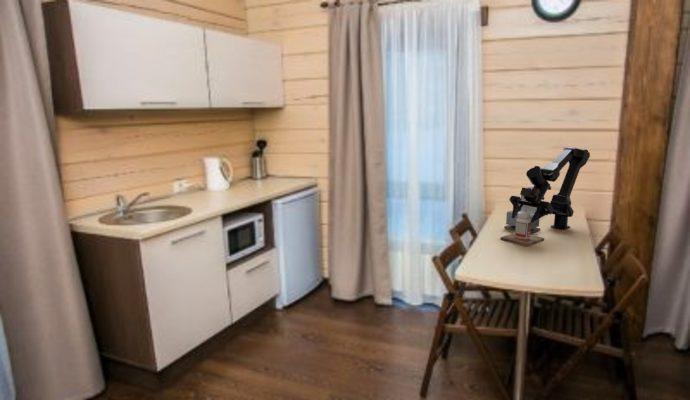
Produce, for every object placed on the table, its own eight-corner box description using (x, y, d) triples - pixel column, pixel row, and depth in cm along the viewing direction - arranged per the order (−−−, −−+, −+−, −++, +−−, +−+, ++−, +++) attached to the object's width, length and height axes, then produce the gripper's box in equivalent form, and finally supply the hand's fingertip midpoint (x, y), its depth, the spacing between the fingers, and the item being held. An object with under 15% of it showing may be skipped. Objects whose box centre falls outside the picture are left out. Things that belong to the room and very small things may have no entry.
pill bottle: (526, 235, 205) (527, 210, 202) (532, 239, 199) (534, 214, 196) (512, 235, 204) (514, 211, 202) (518, 240, 198) (520, 214, 196)
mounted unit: (515, 224, 225) (516, 208, 223) (540, 230, 214) (541, 213, 213) (504, 228, 219) (505, 212, 218) (529, 234, 209) (530, 217, 207)
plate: (517, 233, 211) (517, 231, 210) (544, 240, 200) (544, 238, 200) (500, 239, 203) (500, 237, 203) (527, 246, 193) (527, 244, 193)
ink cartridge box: (539, 214, 243) (541, 187, 240) (541, 216, 238) (543, 189, 234) (519, 213, 245) (521, 186, 242) (521, 216, 240) (522, 189, 236)
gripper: (512, 177, 206) (495, 205, 202) (551, 183, 191) (534, 213, 187) (522, 192, 212) (506, 219, 208) (560, 199, 197) (543, 228, 193)
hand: (521, 220), depth 199 cm, fingers open, 9 cm apart
